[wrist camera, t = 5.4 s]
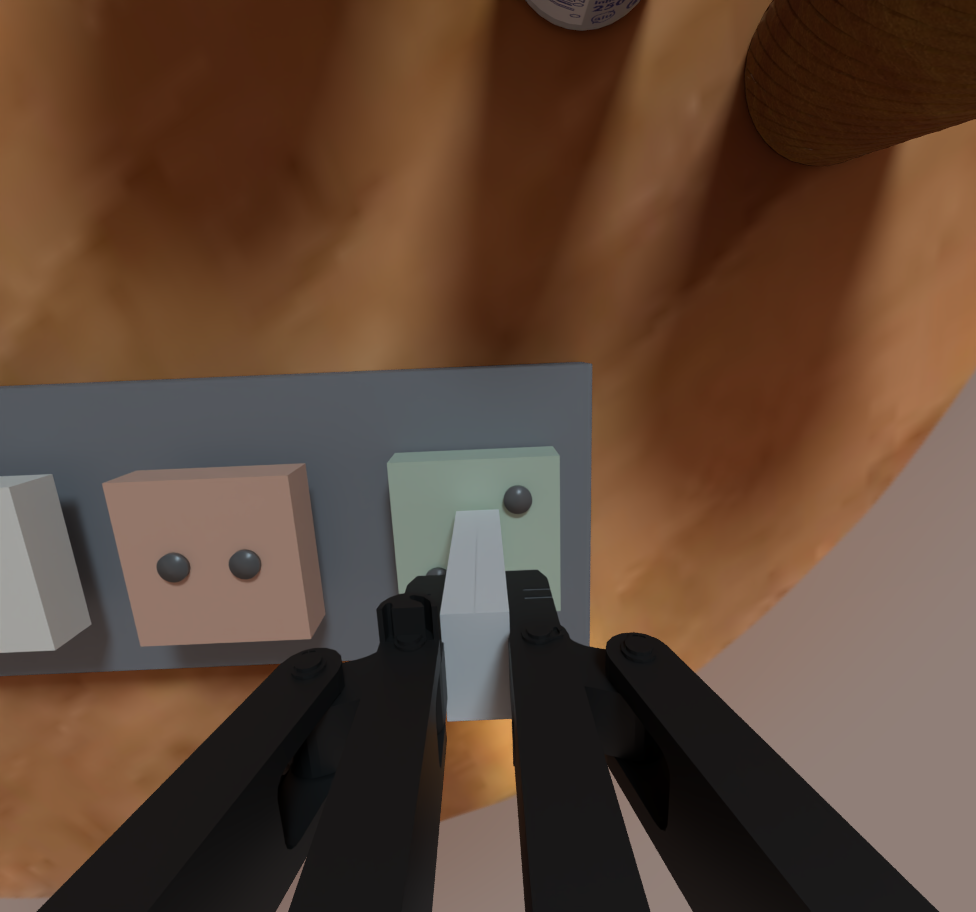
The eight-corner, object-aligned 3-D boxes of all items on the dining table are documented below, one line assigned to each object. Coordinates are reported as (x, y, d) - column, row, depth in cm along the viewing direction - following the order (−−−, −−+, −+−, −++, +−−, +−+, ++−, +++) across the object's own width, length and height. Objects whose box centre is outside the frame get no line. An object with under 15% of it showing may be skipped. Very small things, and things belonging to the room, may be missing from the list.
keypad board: (0, 648, 22) (-46, 678, 20) (-81, 389, 19) (-144, 394, 17) (580, 623, 22) (589, 649, 20) (581, 362, 19) (592, 364, 18)
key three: (413, 576, 21) (400, 620, 18) (402, 443, 20) (385, 464, 16) (548, 570, 21) (561, 614, 18) (546, 437, 20) (560, 456, 16)
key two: (195, 598, 20) (136, 650, 17) (167, 459, 19) (96, 485, 15) (338, 591, 20) (309, 642, 17) (321, 452, 19) (285, 476, 15)
